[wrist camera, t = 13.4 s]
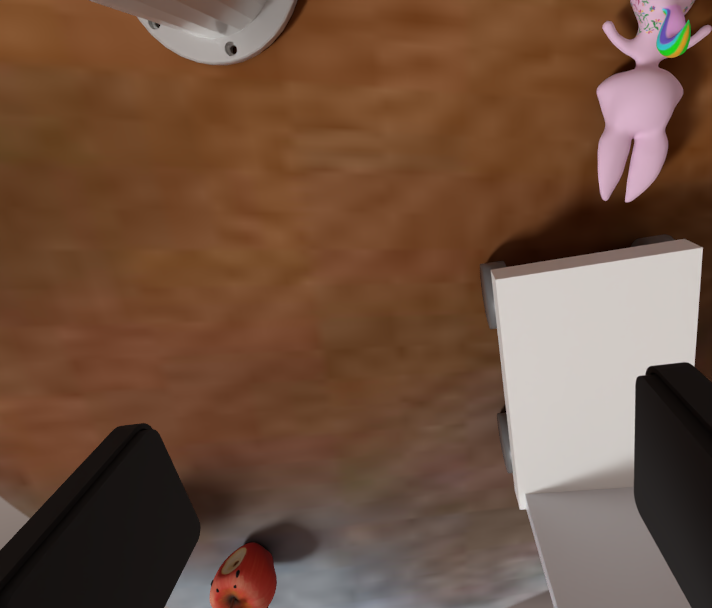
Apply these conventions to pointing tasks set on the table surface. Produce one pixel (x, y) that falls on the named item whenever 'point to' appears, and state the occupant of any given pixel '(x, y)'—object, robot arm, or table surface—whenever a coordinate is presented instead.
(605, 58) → the table surface
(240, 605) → the apple
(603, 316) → the trolley
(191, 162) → the table surface
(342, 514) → the table surface
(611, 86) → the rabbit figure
